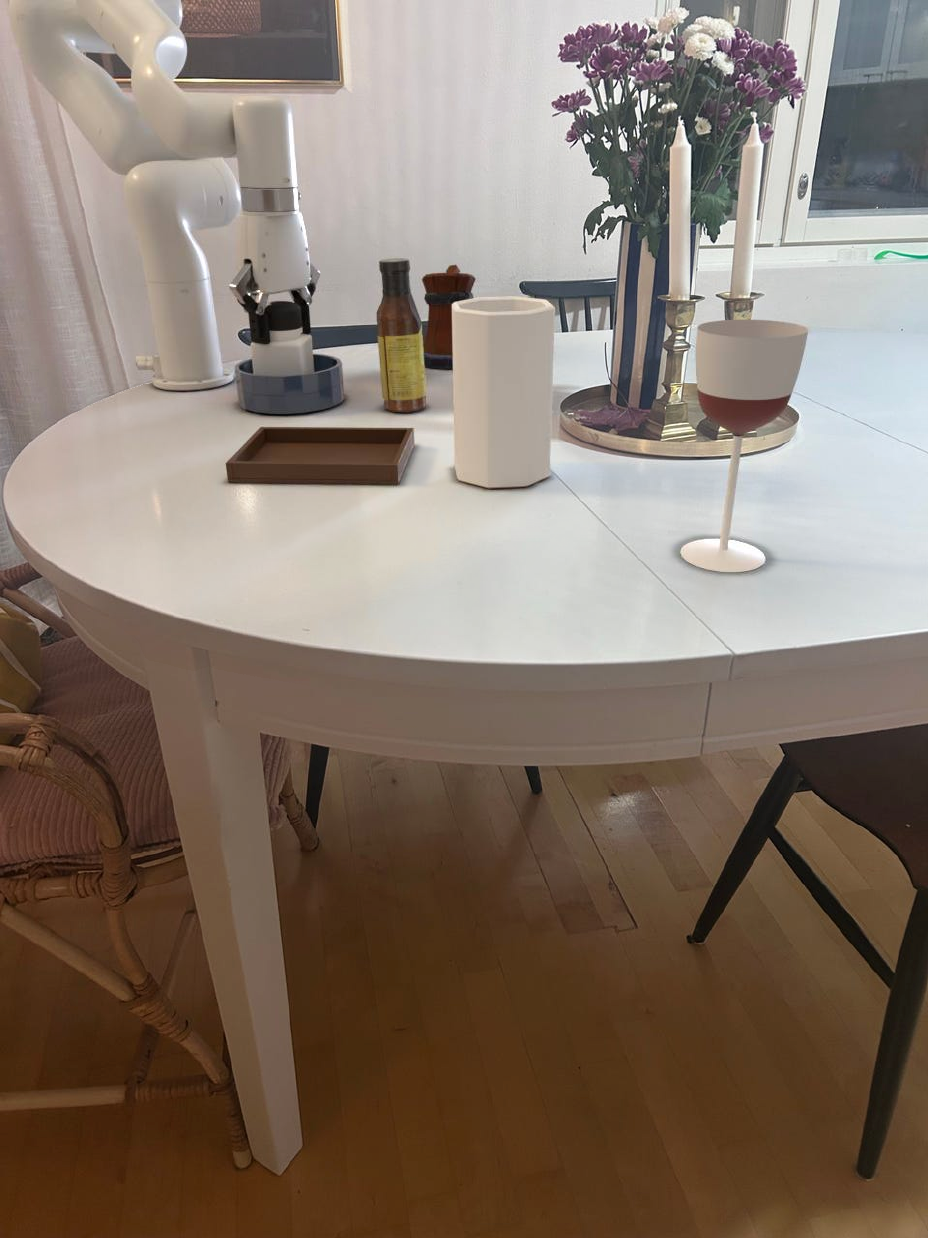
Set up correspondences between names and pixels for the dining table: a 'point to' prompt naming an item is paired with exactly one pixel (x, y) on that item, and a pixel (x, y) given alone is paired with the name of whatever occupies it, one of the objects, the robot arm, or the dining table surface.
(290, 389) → the bowl
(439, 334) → the wooden pepper grinder
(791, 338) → the wineglass
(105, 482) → the dining table surface
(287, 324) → the medicine bottle
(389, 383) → the sauce bottle
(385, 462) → the tray
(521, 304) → the cup
